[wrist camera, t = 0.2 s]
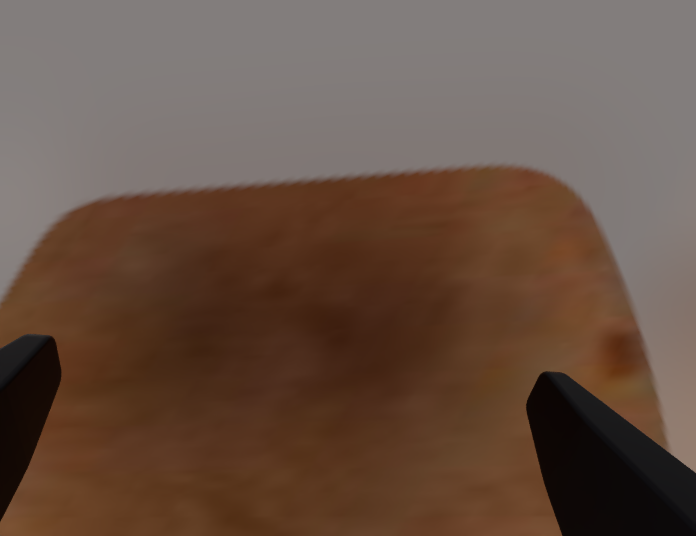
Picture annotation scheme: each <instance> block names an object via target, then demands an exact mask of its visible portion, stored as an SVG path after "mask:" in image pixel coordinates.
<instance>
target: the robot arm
mask: <svg viewBox="0 0 696 536" xmlns="http://www.w3.org/2000/svg"><path fill="white" fill-rule="evenodd" d="M60 381H61V366H60V361H59V356H58V351H57V346H56V342H55V339H54V338H53V337H52V336H49V335H37V334H26V335H24V336H21V337H20V338H18V339H16V340H14V341H13V342H11V343H9V344H7V345H6V346H4V347H2V348H0V521H1V519H2V518H3V516H4V514H5V512H6V510H7V508H8V506H9V504H10V502H11V500H12V498H13V496H14V494H15V492H16V490H17V488H18V486H19V484H20V482H21V480H22V478H23V476H24V474H25V472H26V470H27V468H28V466H29V463H30V461H31V458H32V456H33V454H34V451H35V448H36V446H37V443H38V440H39V438H40V435H41V432H42V430H43V427H44V424H45V422H46V419H47V417H48V414H49V411H50V409H51V406H52V403H53V401H54V398H55V395H56V393H57V390H58V387H59V385H60ZM526 411H527V416H528V420H529V424H530V428H531V432H532V436H533V440H534V444H535V449H536V453H537V457H538V461H539V465H540V469H541V473H542V477H543V480H544V484H545V487H546V490H547V493H548V496H549V499H550V502H551V505H552V508H553V510H554V513H555V516H556V519H557V522H558V524H559V527H560V530H561V533H562V536H696V473H695V472H694V471H692V470H691V469H690V468H688V467H687V466H686V465H684V464H683V463H682V462H681V461H679V460H678V459H677V458H675V457H674V456H673V455H671V454H670V453H669V452H667V451H666V450H665V449H663V448H662V447H661V446H660V445H658V444H657V443H656V442H654V441H653V440H652V439H650V438H649V437H648V436H646V435H645V434H644V433H642V432H641V431H640V430H638V429H637V428H636V427H635V426H633V425H632V424H631V423H629V422H628V421H627V420H625V419H624V418H623V417H621V416H620V415H619V414H617V413H616V412H615V411H614V410H612V409H611V408H610V407H608V406H607V405H606V404H604V403H603V402H602V401H600V400H599V399H598V398H596V397H595V396H594V395H592V394H591V393H590V392H589V391H587V390H586V389H585V388H583V387H582V386H581V385H579V384H578V383H577V382H575V381H574V380H573V379H571V378H570V377H569V376H567V375H566V374H564V373H561V372H548V371H546V372H543V373H541V374H540V376H539V377H538V379H537V381H536V383H535V385H534V387H533V389H532V391H531V393H530V395H529V397H528V400H527V404H526Z"/></svg>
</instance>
